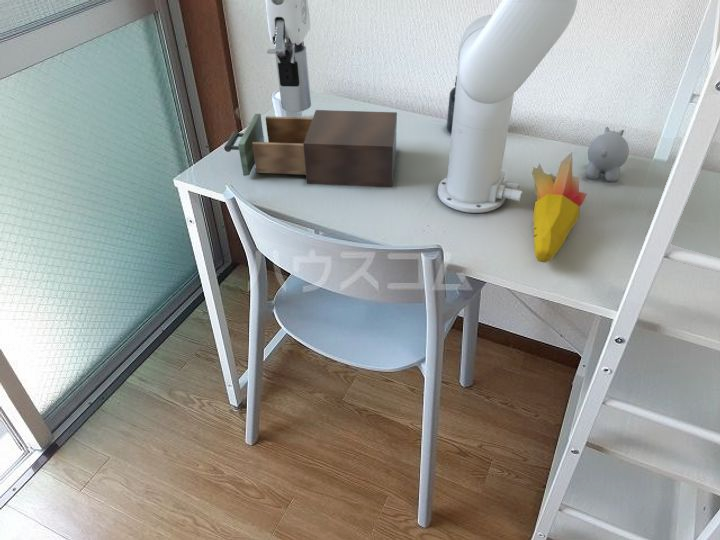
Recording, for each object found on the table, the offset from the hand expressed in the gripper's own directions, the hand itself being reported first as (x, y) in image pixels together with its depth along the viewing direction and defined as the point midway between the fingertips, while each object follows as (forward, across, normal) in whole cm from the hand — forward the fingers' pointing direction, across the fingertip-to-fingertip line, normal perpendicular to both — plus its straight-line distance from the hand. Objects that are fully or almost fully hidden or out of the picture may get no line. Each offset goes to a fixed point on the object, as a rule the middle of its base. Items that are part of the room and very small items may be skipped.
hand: (293, 77), depth 99 cm
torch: (+22, -10, -45) cm, 51 cm away
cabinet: (+21, +8, -8) cm, 24 cm away
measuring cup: (+5, 0, 0) cm, 5 cm away
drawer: (+20, +7, +7) cm, 22 cm away
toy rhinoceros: (+22, +11, -58) cm, 63 cm away
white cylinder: (+21, +26, +9) cm, 34 cm away
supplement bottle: (+22, +26, -31) cm, 46 cm away
